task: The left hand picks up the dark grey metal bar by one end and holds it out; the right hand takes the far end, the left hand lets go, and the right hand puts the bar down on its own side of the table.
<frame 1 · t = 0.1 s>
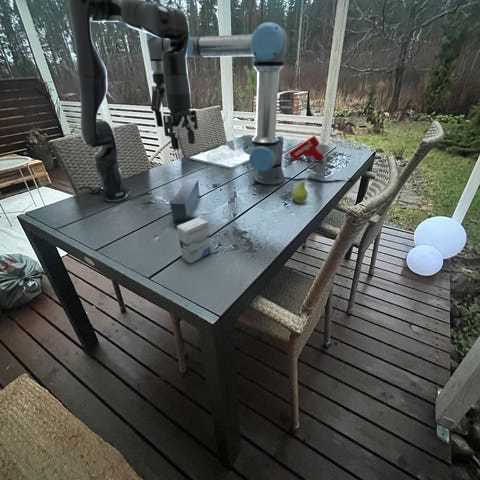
left hand: (184, 146, 92), 29 cm above the table, tool pointing down, fingers open, 8 cm apart
right hand: (167, 124, 132), 28 cm above the table, tool pointing down, fingers open, 13 cm apart
bar: (187, 208, 117), on the table
fruit: (299, 202, 122), on the table
ink box: (196, 255, 88), on the table
toy gun: (305, 160, 175), on the table
relief map: (223, 158, 179), on the table
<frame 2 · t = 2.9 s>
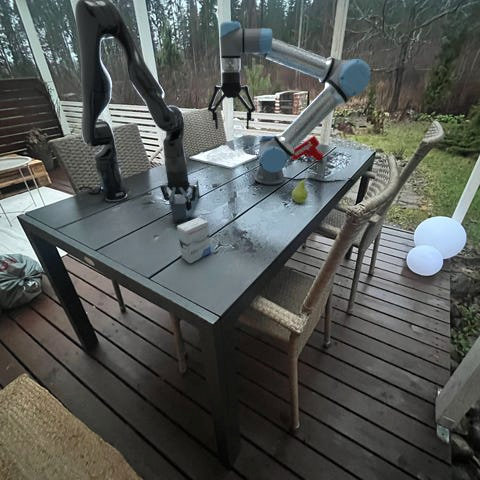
left hand: (182, 209, 107), 4 cm above the table, tool pointing down, fingers closed on bar, 5 cm apart
right hand: (232, 128, 119), 28 cm above the table, tool pointing down, fingers open, 13 cm apart
bar: (187, 208, 117), on the table, touching left hand
everything else where it was.
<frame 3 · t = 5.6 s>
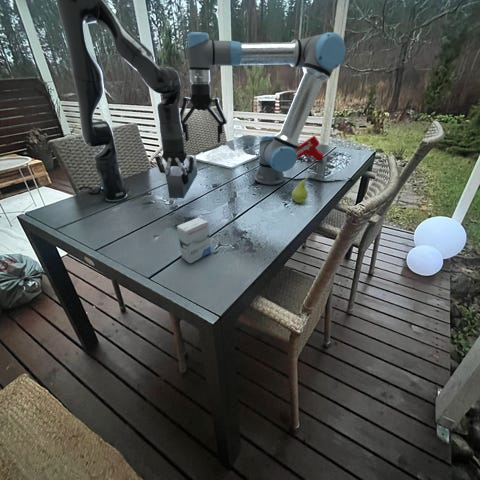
left hand: (178, 183, 101), 15 cm above the table, tool pointing down, fingers closed on bar, 5 cm apart
right hand: (203, 141, 115), 25 cm above the table, tool pointing down, fingers open, 13 cm apart
bar: (184, 185, 111), point 11 cm above the table, touching left hand
everything else where it was.
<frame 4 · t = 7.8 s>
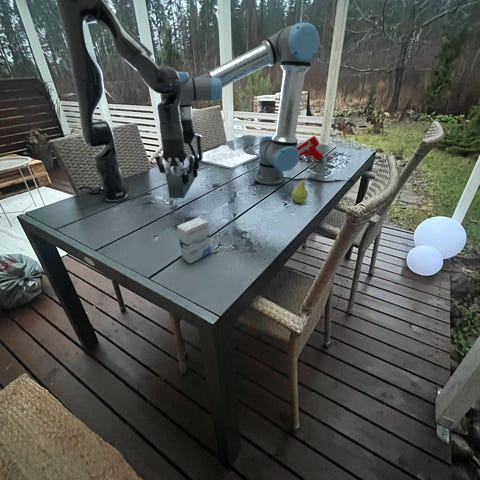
left hand: (178, 183, 101), 15 cm above the table, tool pointing down, fingers closed on bar, 5 cm apart
right hand: (189, 176, 118), 11 cm above the table, tool pointing down, fingers closed on bar, 5 cm apart
bar: (184, 185, 111), point 11 cm above the table, touching right hand, left hand
everything else where it was.
when the left hand's fingers open (15 cm above the table, at t = 8.8 s): bar stays where it is, held by the right hand.
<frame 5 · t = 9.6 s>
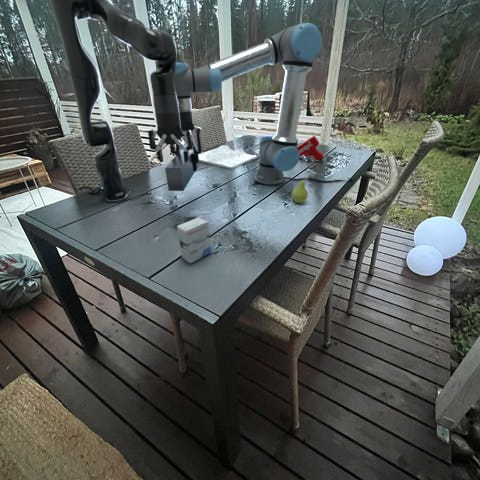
left hand: (174, 161, 94), 24 cm above the table, tool pointing down, fingers open, 8 cm apart
right hand: (188, 169, 116), 14 cm above the table, tool pointing down, fingers closed on bar, 5 cm apart
bar: (184, 178, 109), point 14 cm above the table, touching right hand
everything else where it was.
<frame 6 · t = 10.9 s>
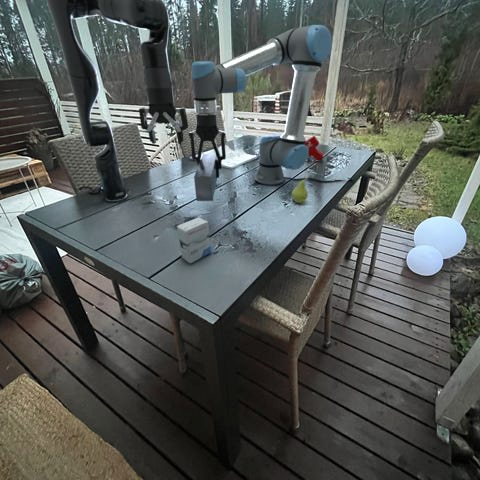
left hand: (167, 143, 88), 31 cm above the table, tool pointing down, fingers open, 8 cm apart
right hand: (210, 176, 108), 14 cm above the table, tool pointing down, fingers closed on bar, 5 cm apart
bar: (208, 186, 101), point 14 cm above the table, touching right hand
everything else where it was.
when the right hand's fingers open (2 cm above the table, at t = 14.3 s): bar drops 1 cm, on the table.
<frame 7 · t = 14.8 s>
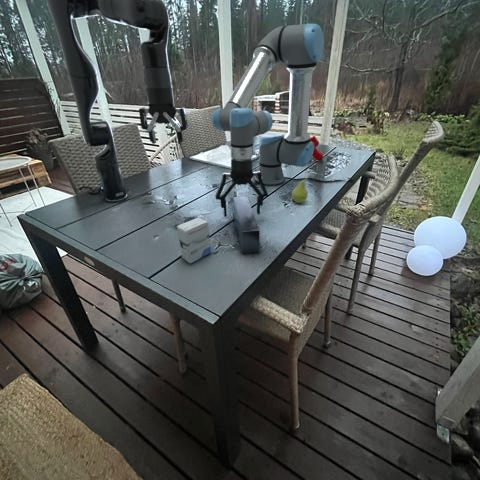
left hand: (167, 143, 88), 31 cm above the table, tool pointing down, fingers open, 8 cm apart
right hand: (241, 214, 105), 3 cm above the table, tool pointing down, fingers open, 12 cm apart
bar: (245, 232, 100), on the table
everything else where it was.
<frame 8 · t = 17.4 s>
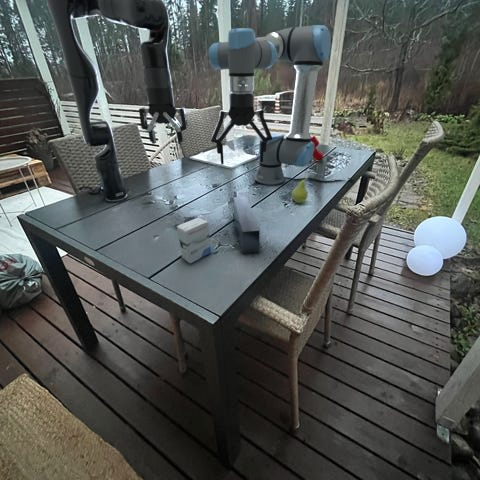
left hand: (167, 143, 88), 31 cm above the table, tool pointing down, fingers open, 8 cm apart
right hand: (241, 162, 94), 23 cm above the table, tool pointing down, fingers open, 13 cm apart
nothing on the table moved.
at the end: bar inside the target area (8.6 cm from its centre), on the table; the left hand is holding nothing; the right hand is holding nothing; bar at rest at the end (0.0 cm/s) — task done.
